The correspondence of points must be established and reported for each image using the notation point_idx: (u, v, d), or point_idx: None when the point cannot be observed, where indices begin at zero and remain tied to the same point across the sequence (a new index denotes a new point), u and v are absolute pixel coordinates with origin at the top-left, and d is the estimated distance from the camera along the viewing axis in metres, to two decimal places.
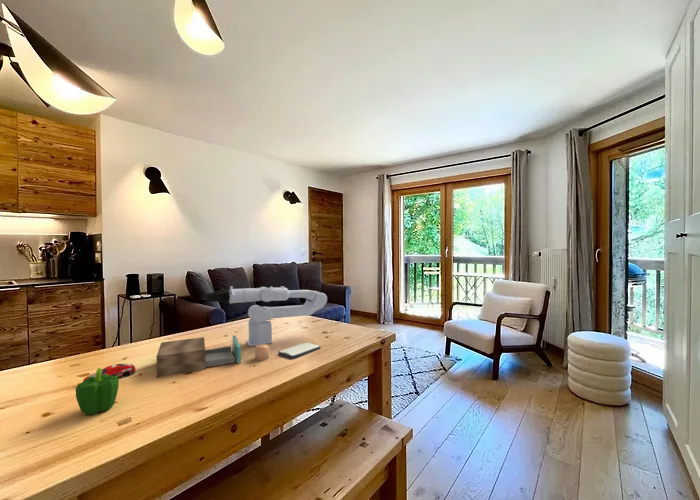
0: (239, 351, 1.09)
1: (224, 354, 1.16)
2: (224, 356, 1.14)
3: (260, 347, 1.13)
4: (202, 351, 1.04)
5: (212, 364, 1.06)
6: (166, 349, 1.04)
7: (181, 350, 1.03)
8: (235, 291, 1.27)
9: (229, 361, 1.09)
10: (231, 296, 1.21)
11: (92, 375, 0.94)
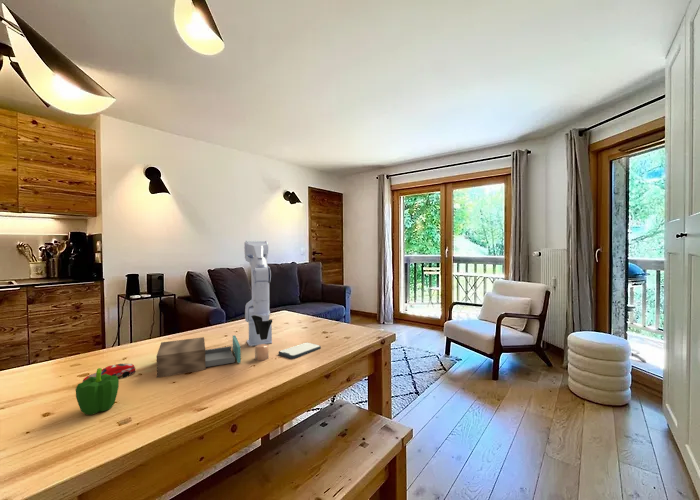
0: (239, 351, 1.09)
1: (224, 354, 1.16)
2: (224, 356, 1.14)
3: (260, 347, 1.13)
4: (202, 351, 1.04)
5: (212, 364, 1.06)
6: (166, 349, 1.04)
7: (181, 350, 1.03)
8: (257, 310, 1.11)
9: (229, 361, 1.09)
10: (264, 319, 1.08)
11: (92, 375, 0.94)
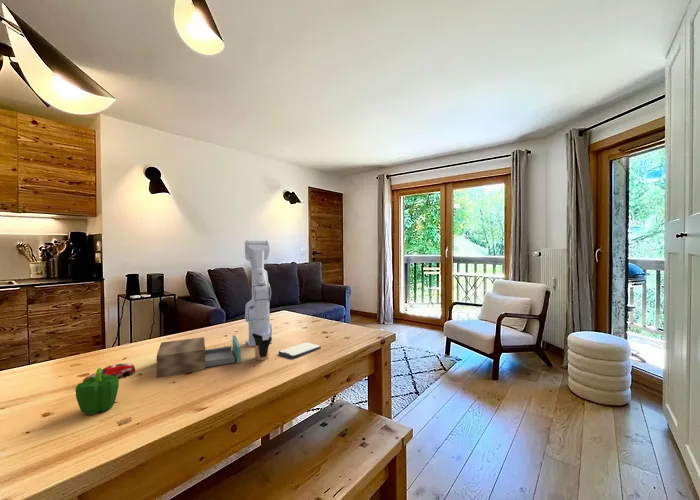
0: (239, 351, 1.09)
1: (224, 354, 1.16)
2: (224, 356, 1.14)
3: None
4: (202, 351, 1.04)
5: (212, 364, 1.06)
6: (166, 349, 1.04)
7: (181, 350, 1.03)
8: (257, 329, 1.12)
9: (229, 361, 1.09)
10: (264, 338, 1.08)
11: (92, 375, 0.94)
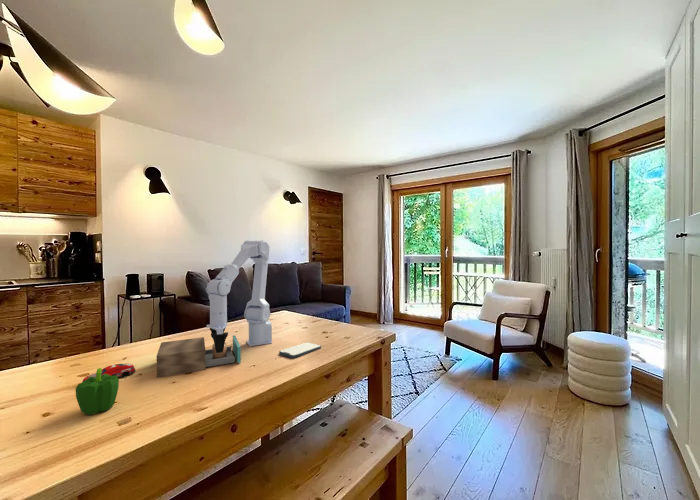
0: (239, 351, 1.09)
1: None
2: None
3: None
4: (202, 351, 1.04)
5: (212, 364, 1.06)
6: (166, 349, 1.04)
7: (181, 350, 1.03)
8: (213, 323, 1.10)
9: (229, 361, 1.09)
10: (218, 333, 1.07)
11: (92, 375, 0.94)
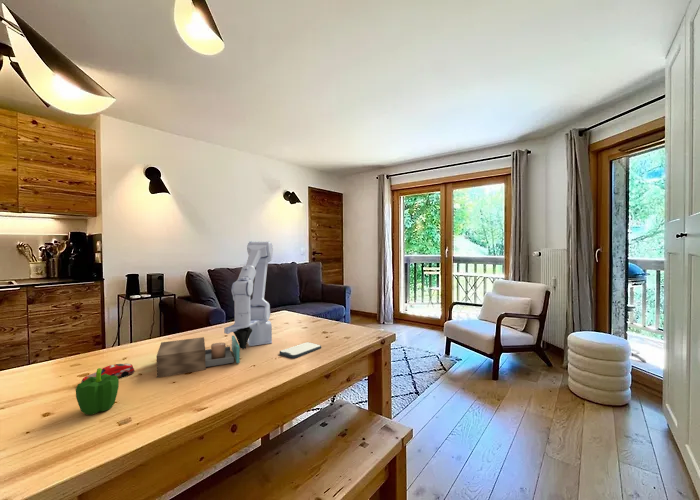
0: (238, 351, 1.09)
1: None
2: None
3: (216, 345, 1.12)
4: (202, 351, 1.04)
5: (211, 364, 1.06)
6: (166, 349, 1.04)
7: (181, 350, 1.03)
8: None
9: (228, 361, 1.09)
10: (225, 332, 1.11)
11: (91, 375, 0.94)
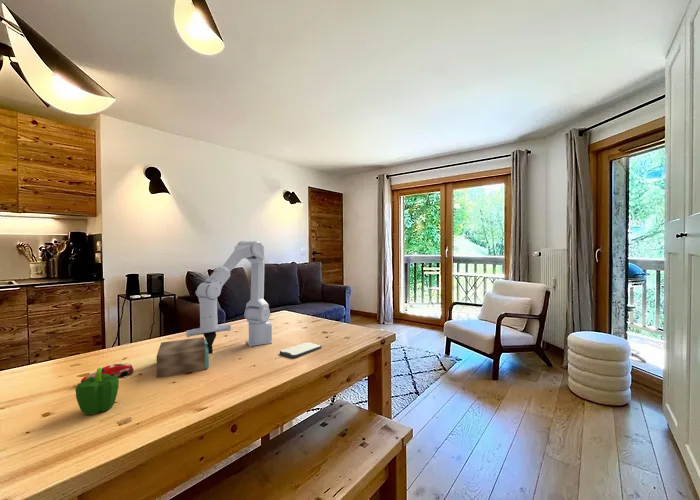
0: (207, 356, 1.04)
1: None
2: None
3: None
4: (202, 351, 1.04)
5: None
6: (166, 349, 1.04)
7: (181, 350, 1.03)
8: None
9: None
10: (186, 334, 1.08)
11: (90, 375, 0.94)
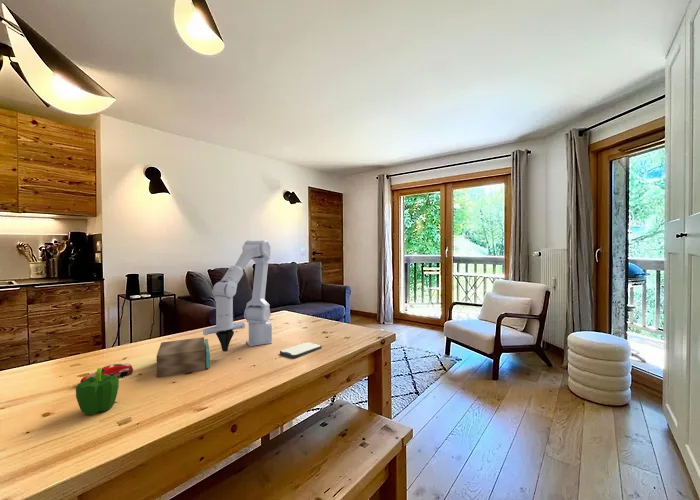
0: (208, 356, 1.04)
1: None
2: None
3: None
4: (202, 351, 1.04)
5: None
6: (166, 349, 1.04)
7: (181, 350, 1.03)
8: None
9: None
10: (203, 333, 1.10)
11: (89, 375, 0.94)
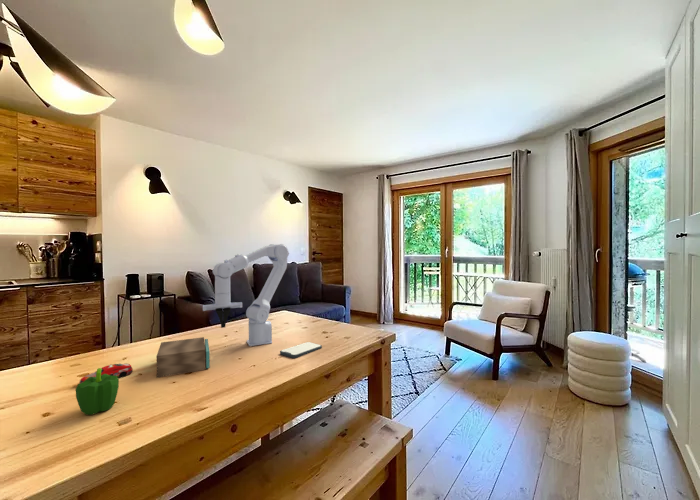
0: (208, 356, 1.04)
1: None
2: None
3: None
4: (202, 351, 1.04)
5: None
6: (166, 349, 1.04)
7: (181, 350, 1.03)
8: None
9: None
10: None
11: (89, 375, 0.94)
